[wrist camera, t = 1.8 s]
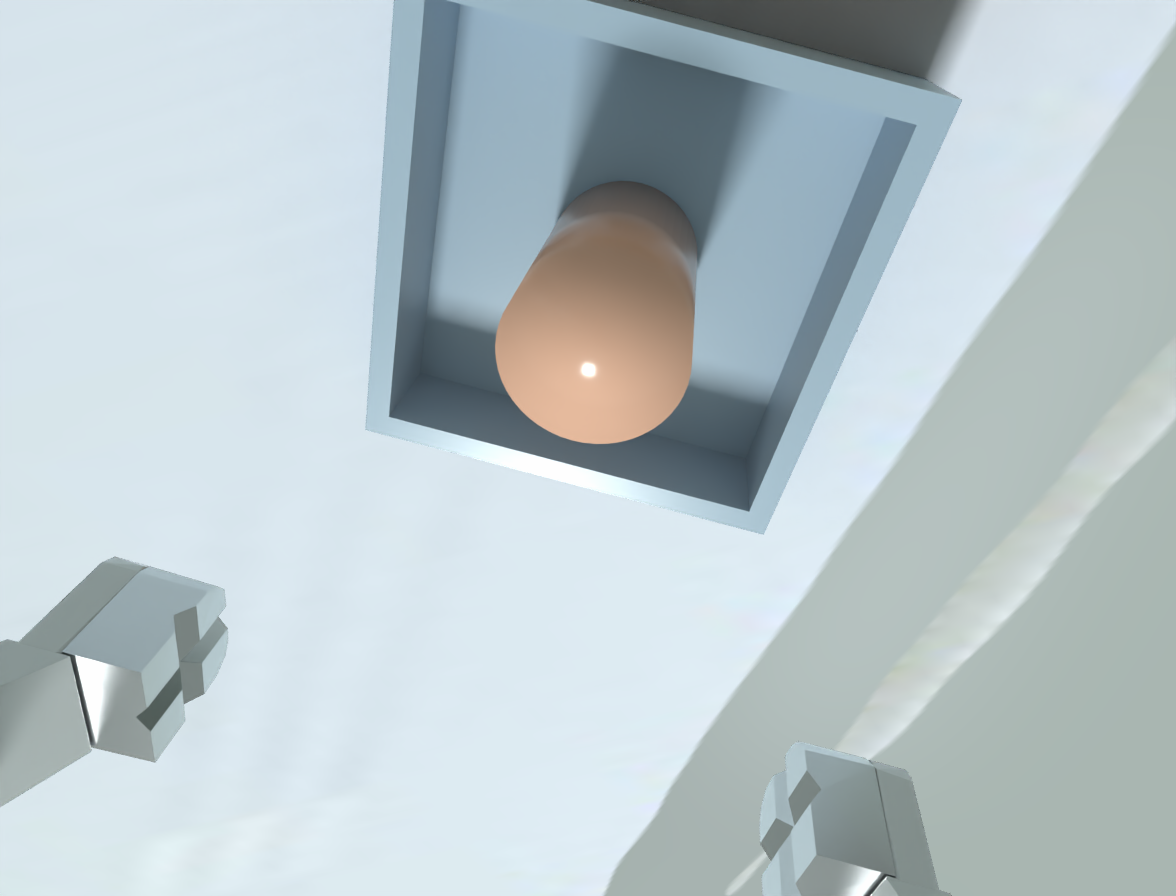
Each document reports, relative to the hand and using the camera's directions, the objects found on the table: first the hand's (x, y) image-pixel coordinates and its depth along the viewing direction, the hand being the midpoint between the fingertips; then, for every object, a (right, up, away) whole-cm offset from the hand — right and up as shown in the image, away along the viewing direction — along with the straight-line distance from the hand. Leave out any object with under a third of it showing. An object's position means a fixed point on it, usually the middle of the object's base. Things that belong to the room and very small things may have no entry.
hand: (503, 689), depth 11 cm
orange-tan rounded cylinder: (+2, +10, +15) cm, 18 cm away
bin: (+2, +10, +16) cm, 19 cm away
